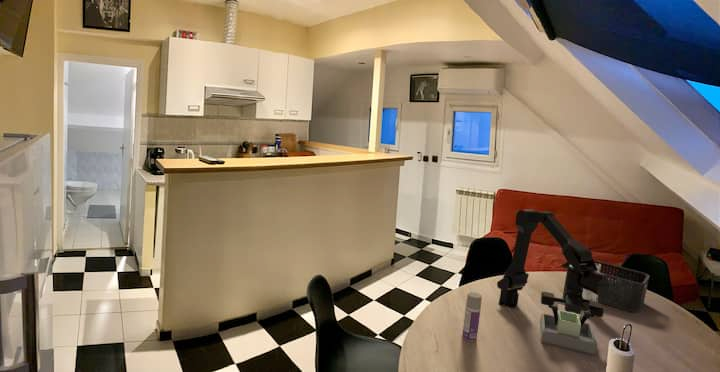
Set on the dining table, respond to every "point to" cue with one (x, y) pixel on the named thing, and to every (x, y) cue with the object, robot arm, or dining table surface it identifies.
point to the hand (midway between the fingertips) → (567, 327)
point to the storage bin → (624, 288)
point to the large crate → (551, 337)
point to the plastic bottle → (590, 295)
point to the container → (472, 317)
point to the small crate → (568, 324)
